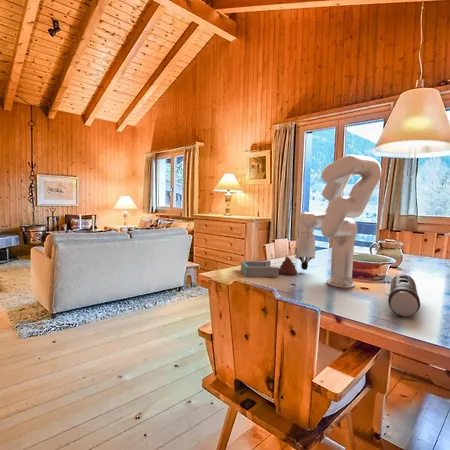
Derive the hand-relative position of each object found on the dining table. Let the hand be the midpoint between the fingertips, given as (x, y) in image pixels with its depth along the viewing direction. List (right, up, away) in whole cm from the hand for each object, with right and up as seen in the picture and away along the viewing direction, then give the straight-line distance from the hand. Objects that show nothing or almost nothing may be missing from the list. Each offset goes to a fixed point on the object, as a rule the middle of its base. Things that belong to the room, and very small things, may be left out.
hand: (304, 269), depth 169 cm
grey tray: (-25, -2, -3) cm, 25 cm away
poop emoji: (-10, -2, -2) cm, 10 cm away
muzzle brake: (+24, -8, -51) cm, 57 cm away
